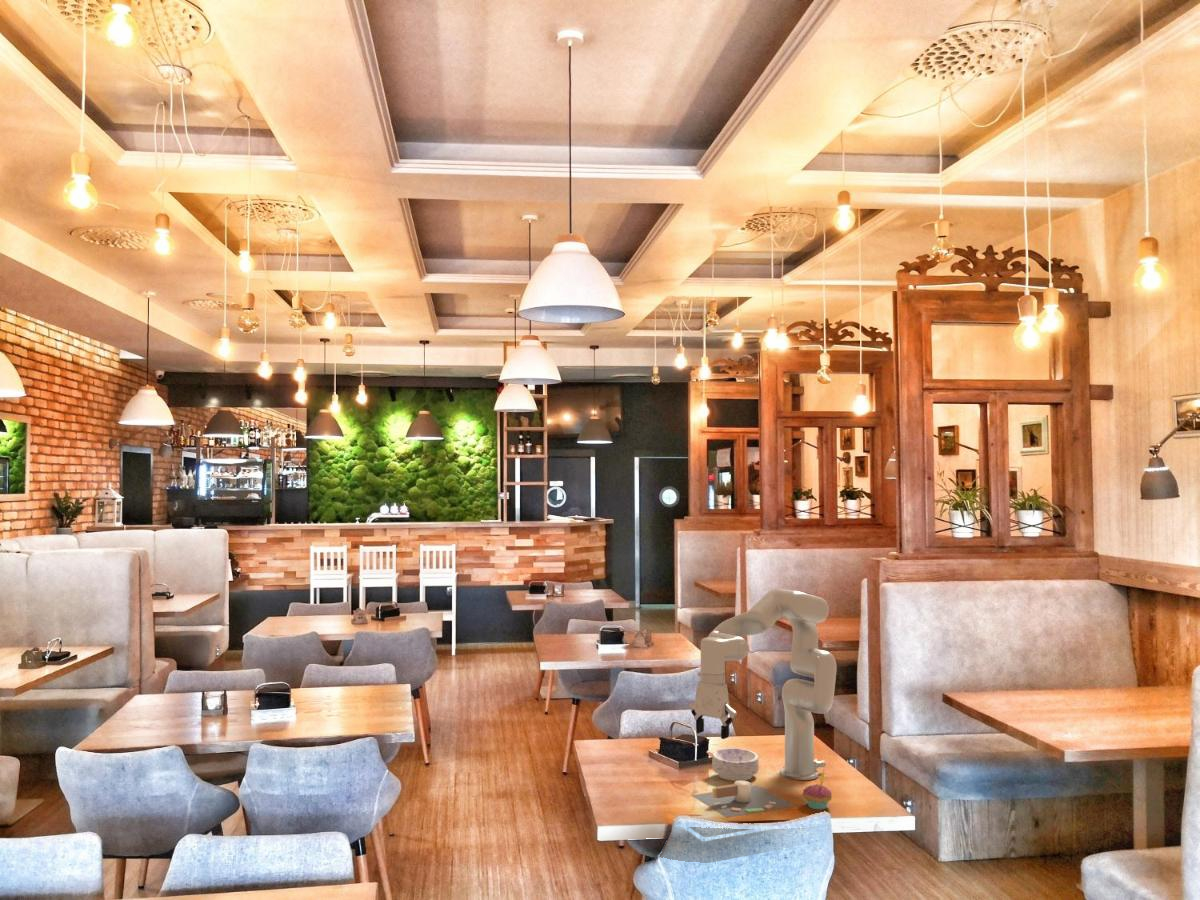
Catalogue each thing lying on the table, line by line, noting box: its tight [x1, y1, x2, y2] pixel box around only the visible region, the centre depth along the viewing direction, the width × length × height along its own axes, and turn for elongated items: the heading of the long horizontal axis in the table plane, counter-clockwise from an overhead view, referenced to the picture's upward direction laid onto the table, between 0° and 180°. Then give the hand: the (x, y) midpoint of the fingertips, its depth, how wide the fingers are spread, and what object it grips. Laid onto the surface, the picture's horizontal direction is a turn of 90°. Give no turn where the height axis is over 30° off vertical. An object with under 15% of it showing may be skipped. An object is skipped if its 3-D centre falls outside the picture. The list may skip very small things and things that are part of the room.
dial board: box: [691, 785, 795, 818], centre depth 281 cm, size 24×20×1 cm
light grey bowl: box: [711, 747, 760, 782], centre depth 305 cm, size 15×15×8 cm
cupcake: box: [802, 769, 833, 810], centre depth 277 cm, size 9×8×12 cm
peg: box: [712, 780, 752, 803], centre depth 279 cm, size 13×5×5 cm, turn 114°
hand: (712, 735), depth 283 cm, fingers open, 8 cm apart
